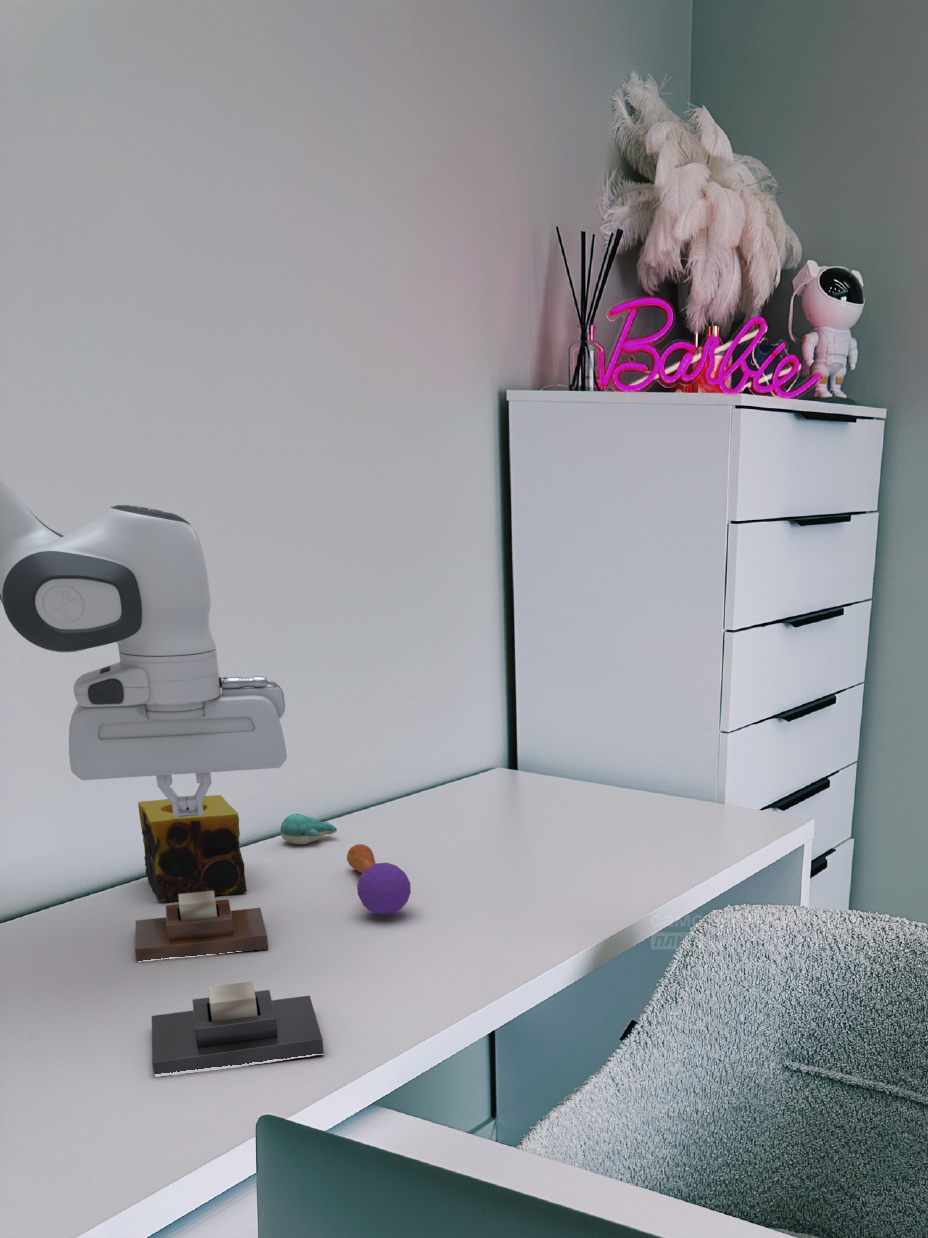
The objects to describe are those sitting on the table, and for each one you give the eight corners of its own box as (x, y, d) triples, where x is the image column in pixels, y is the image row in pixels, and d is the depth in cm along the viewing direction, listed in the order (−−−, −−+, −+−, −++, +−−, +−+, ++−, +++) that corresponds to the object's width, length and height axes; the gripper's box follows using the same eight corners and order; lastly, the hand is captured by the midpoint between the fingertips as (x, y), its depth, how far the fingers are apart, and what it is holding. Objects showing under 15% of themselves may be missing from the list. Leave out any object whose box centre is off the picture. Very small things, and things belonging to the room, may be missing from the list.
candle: (248, 894, 151) (241, 814, 147) (158, 904, 146) (149, 822, 142) (230, 869, 159) (224, 793, 155) (145, 879, 154) (136, 800, 150)
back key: (181, 923, 133) (179, 904, 132) (180, 911, 136) (178, 894, 135) (217, 919, 134) (215, 901, 133) (215, 908, 137) (213, 890, 136)
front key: (212, 1024, 110) (209, 1003, 109) (210, 1007, 113) (207, 986, 112) (257, 1018, 111) (255, 997, 111) (254, 1001, 115) (252, 981, 114)
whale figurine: (274, 838, 171) (272, 811, 170) (325, 830, 176) (324, 804, 174) (291, 849, 167) (289, 821, 166) (343, 841, 172) (341, 814, 170)
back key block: (137, 964, 130) (132, 933, 128) (137, 934, 137) (133, 904, 136) (268, 949, 134) (265, 919, 133) (261, 921, 142) (258, 892, 141)
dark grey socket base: (154, 1080, 107) (149, 1043, 105) (153, 1032, 115) (148, 997, 114) (324, 1055, 112) (320, 1020, 110) (311, 1011, 120) (308, 977, 119)
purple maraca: (386, 836, 160) (418, 872, 143) (380, 881, 161) (411, 922, 144) (339, 831, 158) (365, 866, 140) (333, 877, 159) (358, 917, 141)
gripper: (279, 670, 130) (291, 799, 135) (60, 678, 122) (82, 814, 127) (284, 680, 124) (297, 815, 129) (56, 689, 117) (78, 831, 122)
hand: (188, 815), depth 128 cm, fingers closed
